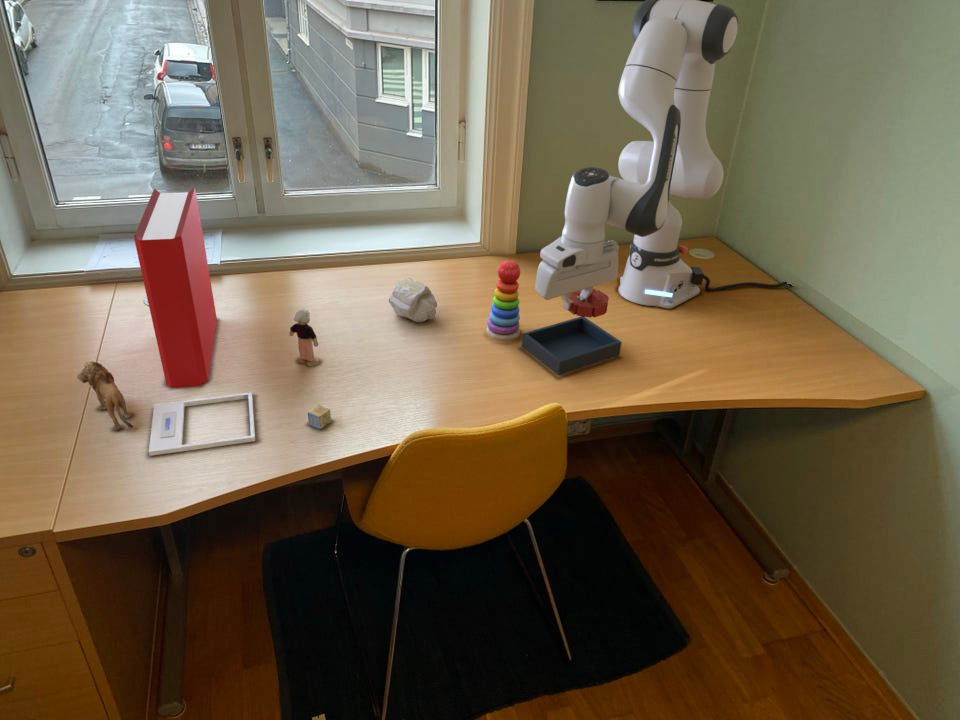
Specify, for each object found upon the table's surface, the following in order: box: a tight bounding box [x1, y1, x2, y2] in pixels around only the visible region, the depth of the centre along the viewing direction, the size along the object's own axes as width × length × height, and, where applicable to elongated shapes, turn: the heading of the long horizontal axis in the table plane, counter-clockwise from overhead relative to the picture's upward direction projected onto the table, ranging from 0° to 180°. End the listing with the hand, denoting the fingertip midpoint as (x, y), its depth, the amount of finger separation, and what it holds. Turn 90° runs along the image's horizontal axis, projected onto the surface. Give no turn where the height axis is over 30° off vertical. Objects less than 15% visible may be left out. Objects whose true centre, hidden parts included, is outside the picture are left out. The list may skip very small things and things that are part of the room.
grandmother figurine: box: [288, 307, 320, 367], centre depth 154 cm, size 8×4×13 cm, turn 71°
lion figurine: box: [76, 360, 134, 431], centre depth 136 cm, size 15×5×9 cm, turn 50°
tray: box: [521, 316, 623, 376], centre depth 164 cm, size 18×14×4 cm
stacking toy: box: [485, 260, 521, 342], centre depth 166 cm, size 8×8×19 cm
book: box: [133, 187, 218, 389], centre depth 149 cm, size 27×8×32 cm, turn 13°
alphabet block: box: [307, 404, 332, 430], centre depth 138 cm, size 3×3×3 cm
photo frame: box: [148, 391, 256, 457], centre depth 137 cm, size 15×1×18 cm
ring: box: [567, 288, 610, 319], centre depth 160 cm, size 9×9×2 cm
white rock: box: [388, 277, 438, 323], centre depth 174 cm, size 12×8×10 cm
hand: (574, 306), depth 159 cm, fingers closed on ring, 2 cm apart
